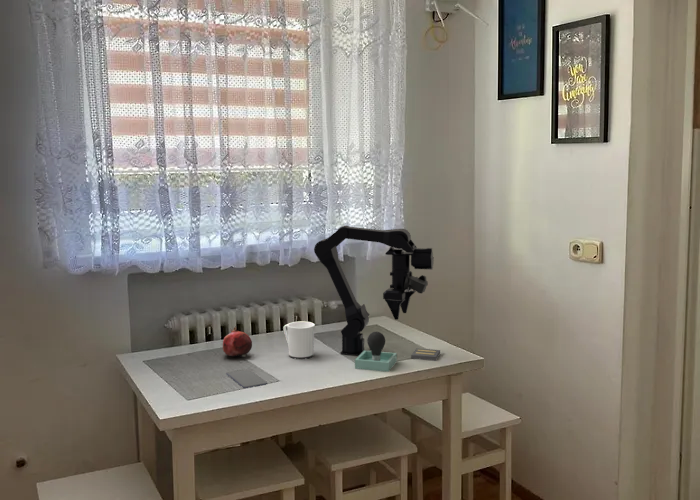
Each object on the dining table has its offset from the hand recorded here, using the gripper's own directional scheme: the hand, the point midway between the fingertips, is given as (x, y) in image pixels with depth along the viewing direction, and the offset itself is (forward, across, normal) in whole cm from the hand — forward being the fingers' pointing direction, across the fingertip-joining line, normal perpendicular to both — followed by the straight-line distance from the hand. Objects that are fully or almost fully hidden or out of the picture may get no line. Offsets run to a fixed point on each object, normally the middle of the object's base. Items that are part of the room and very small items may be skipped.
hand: (400, 316), depth 237 cm
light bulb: (+13, -12, +4) cm, 18 cm away
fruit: (+13, -19, +50) cm, 55 cm away
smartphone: (+13, -38, +36) cm, 54 cm away
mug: (+13, -11, +32) cm, 36 cm away
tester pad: (+13, +2, -8) cm, 16 cm away
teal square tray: (+13, -12, +4) cm, 18 cm away
